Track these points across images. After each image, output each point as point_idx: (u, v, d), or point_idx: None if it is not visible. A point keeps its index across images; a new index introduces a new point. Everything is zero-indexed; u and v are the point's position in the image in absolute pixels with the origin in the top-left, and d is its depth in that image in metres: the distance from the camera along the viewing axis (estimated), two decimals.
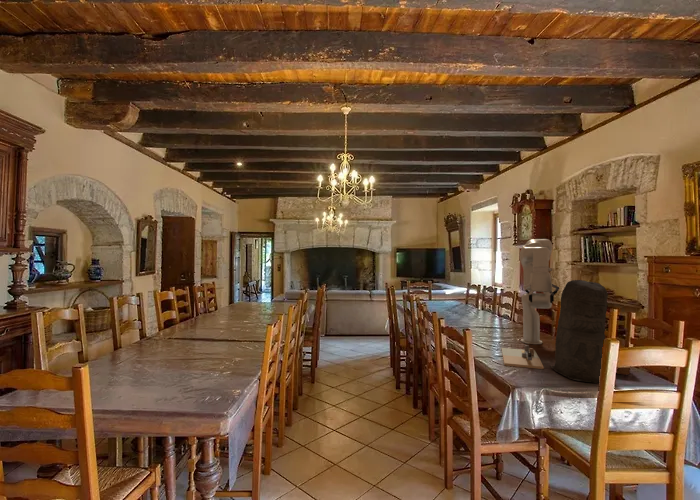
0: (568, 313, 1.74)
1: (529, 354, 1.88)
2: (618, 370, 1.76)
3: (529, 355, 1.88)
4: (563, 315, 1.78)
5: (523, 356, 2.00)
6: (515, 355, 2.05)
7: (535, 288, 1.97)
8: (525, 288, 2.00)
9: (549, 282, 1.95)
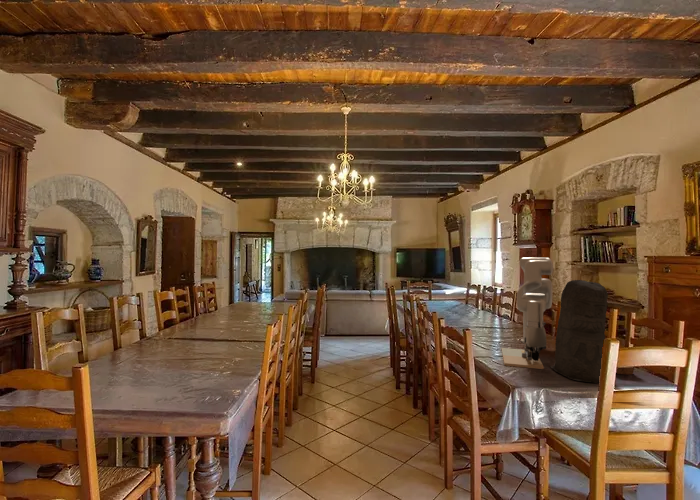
0: (568, 313, 1.74)
1: (529, 354, 1.88)
2: (623, 370, 1.76)
3: (529, 355, 1.88)
4: (563, 315, 1.78)
5: (523, 356, 2.00)
6: (515, 355, 2.05)
7: (531, 344, 1.91)
8: (528, 347, 1.92)
9: (544, 337, 1.91)
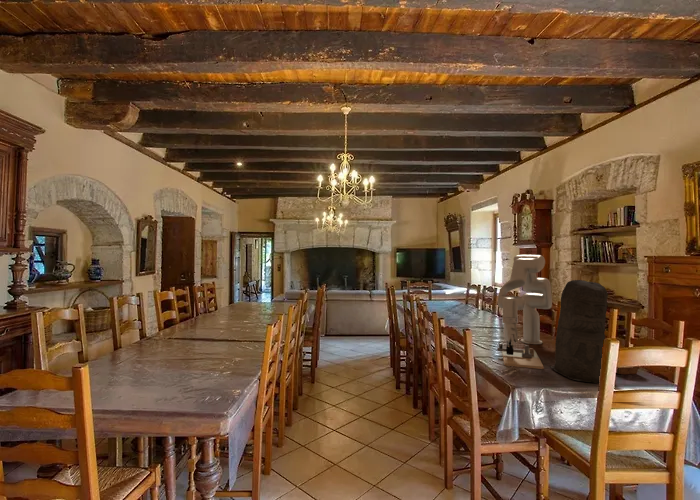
0: (568, 313, 1.74)
1: (499, 345, 2.06)
2: (628, 370, 1.76)
3: (499, 346, 2.06)
4: (563, 315, 1.78)
5: (523, 356, 2.00)
6: (515, 355, 2.05)
7: (504, 336, 2.05)
8: None
9: (507, 332, 1.98)
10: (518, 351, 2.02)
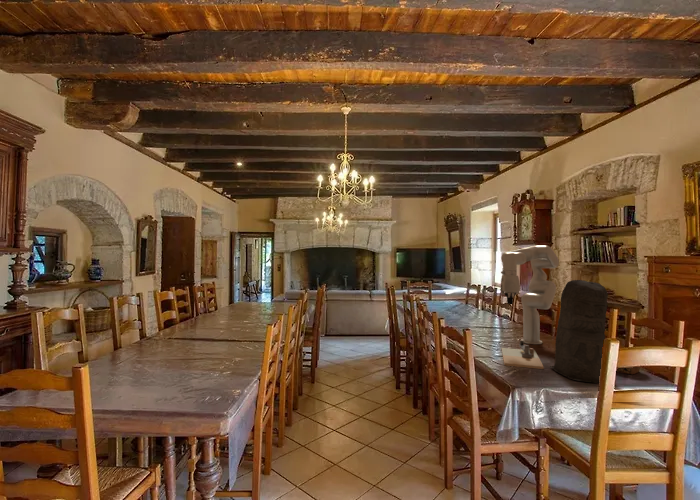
0: (568, 313, 1.74)
1: None
2: (636, 369, 1.77)
3: None
4: (563, 315, 1.78)
5: (523, 356, 2.00)
6: (515, 355, 2.05)
7: None
8: None
9: None
10: (523, 349, 2.06)
